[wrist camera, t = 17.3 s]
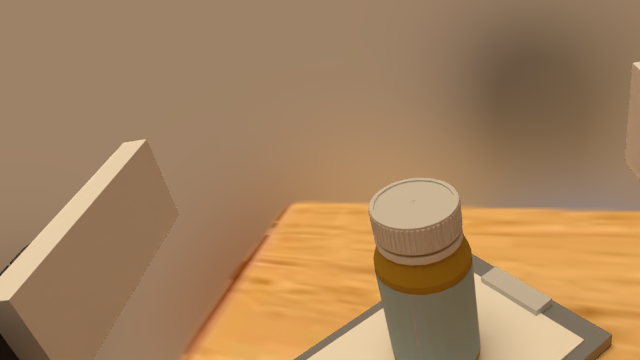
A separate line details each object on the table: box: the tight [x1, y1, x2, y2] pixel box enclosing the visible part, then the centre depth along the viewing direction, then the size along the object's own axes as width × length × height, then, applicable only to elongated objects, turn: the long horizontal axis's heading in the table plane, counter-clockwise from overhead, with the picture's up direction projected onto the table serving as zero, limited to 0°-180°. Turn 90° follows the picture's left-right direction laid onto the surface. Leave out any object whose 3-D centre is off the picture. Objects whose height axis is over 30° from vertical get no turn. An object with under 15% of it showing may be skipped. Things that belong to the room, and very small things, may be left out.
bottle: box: [369, 178, 480, 360], centre depth 40 cm, size 7×7×15 cm
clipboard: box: [294, 254, 612, 360], centre depth 44 cm, size 22×16×2 cm
